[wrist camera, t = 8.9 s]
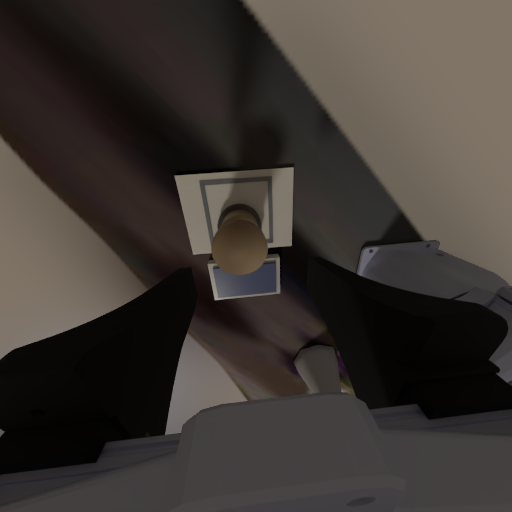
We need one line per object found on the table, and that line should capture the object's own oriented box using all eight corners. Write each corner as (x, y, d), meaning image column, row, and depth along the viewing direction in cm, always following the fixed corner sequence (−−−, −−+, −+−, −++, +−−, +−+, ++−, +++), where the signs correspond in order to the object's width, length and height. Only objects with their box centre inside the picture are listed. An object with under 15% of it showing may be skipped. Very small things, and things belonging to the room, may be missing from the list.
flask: (294, 345, 29) (319, 426, 20) (339, 340, 29) (383, 418, 20) (292, 373, 32) (312, 453, 23) (332, 369, 32) (367, 446, 24)
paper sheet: (292, 167, 17) (293, 167, 17) (290, 244, 21) (291, 246, 21) (175, 175, 17) (174, 175, 17) (194, 253, 21) (193, 254, 20)
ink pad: (278, 253, 21) (280, 258, 20) (278, 288, 24) (280, 294, 22) (208, 260, 21) (207, 265, 20) (215, 294, 23) (214, 301, 22)
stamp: (259, 201, 18) (269, 216, 12) (262, 242, 20) (272, 273, 14) (215, 205, 18) (202, 223, 12) (222, 246, 20) (214, 280, 14)
